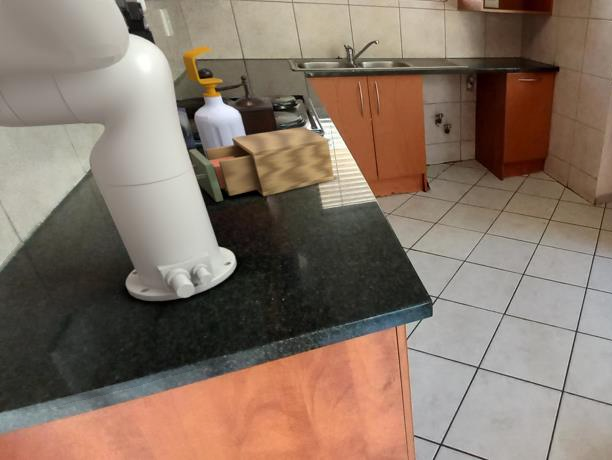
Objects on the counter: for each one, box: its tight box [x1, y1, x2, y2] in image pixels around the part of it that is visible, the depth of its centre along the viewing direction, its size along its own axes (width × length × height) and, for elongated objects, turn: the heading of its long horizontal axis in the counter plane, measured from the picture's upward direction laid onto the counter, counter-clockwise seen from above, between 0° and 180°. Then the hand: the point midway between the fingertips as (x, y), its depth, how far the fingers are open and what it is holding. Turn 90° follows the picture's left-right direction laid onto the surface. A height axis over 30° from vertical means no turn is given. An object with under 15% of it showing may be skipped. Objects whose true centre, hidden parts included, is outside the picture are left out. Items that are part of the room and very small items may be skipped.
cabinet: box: [232, 126, 335, 197], centre depth 91 cm, size 15×12×9 cm
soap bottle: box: [182, 45, 246, 159], centre depth 97 cm, size 9×9×25 cm
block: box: [209, 156, 235, 190], centre depth 83 cm, size 4×4×4 cm
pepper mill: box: [197, 67, 279, 135], centre depth 111 cm, size 16×11×18 cm
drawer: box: [188, 144, 261, 202], centre depth 83 cm, size 19×11×7 cm, turn 136°
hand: (140, 57), depth 65 cm, fingers open, 9 cm apart
